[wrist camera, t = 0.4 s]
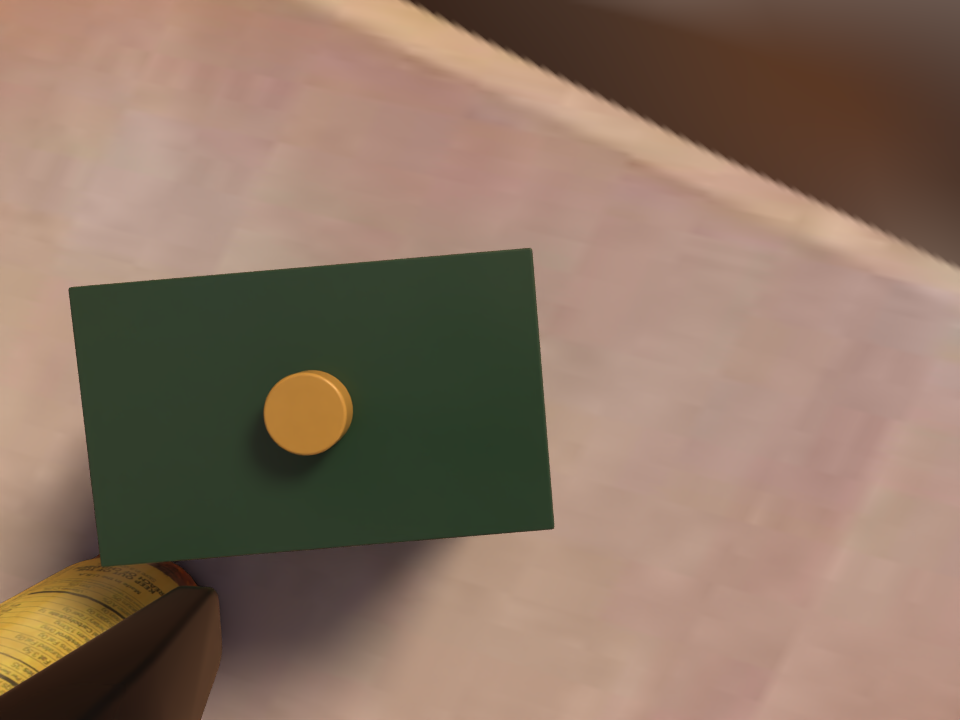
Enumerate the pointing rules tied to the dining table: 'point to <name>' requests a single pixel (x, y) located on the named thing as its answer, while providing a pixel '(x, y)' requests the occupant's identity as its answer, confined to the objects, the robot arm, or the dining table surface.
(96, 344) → the tin box
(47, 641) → the sauce bottle
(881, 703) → the dining table surface
